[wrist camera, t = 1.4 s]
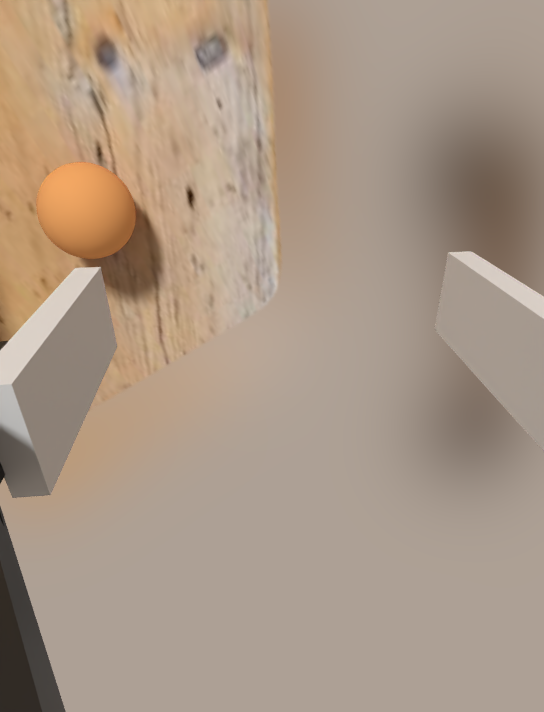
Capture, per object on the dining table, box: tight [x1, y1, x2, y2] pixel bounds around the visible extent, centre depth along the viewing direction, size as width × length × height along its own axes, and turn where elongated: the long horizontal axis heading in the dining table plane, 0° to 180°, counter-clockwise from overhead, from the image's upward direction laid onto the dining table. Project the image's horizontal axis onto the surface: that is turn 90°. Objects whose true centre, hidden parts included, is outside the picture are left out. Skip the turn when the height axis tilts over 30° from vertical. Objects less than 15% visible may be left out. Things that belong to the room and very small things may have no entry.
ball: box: [36, 162, 136, 259], centre depth 27 cm, size 6×6×6 cm
